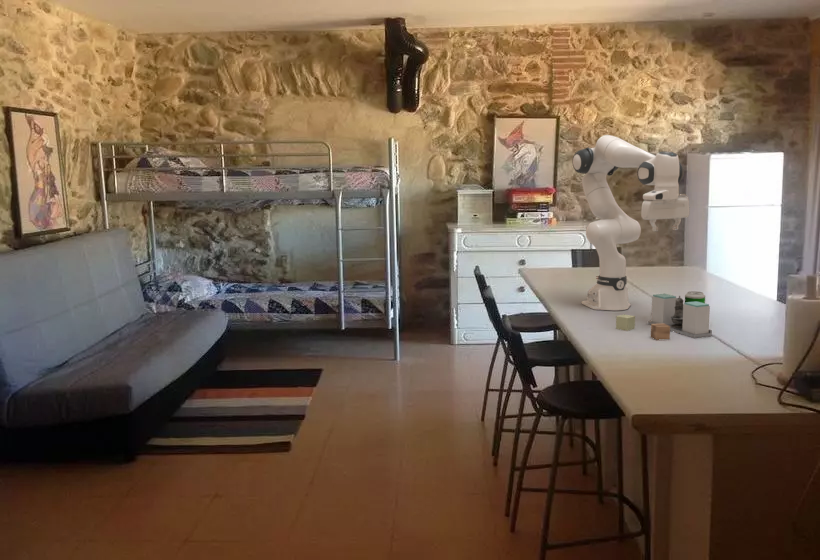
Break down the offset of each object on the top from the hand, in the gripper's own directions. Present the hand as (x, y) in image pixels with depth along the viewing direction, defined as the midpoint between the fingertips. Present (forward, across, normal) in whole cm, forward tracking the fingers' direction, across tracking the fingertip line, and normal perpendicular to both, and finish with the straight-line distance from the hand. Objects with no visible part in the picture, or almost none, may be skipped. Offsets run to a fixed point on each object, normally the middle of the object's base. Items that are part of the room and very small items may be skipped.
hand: (665, 230), depth 291 cm
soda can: (+37, -14, +2) cm, 40 cm away
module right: (+36, 0, +19) cm, 41 cm away
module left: (+36, 0, +1) cm, 36 cm away
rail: (+37, 0, +10) cm, 38 cm away
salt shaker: (+36, 0, +10) cm, 37 cm away
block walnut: (+37, +15, +18) cm, 44 cm away
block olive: (+37, +17, 0) cm, 41 cm away
